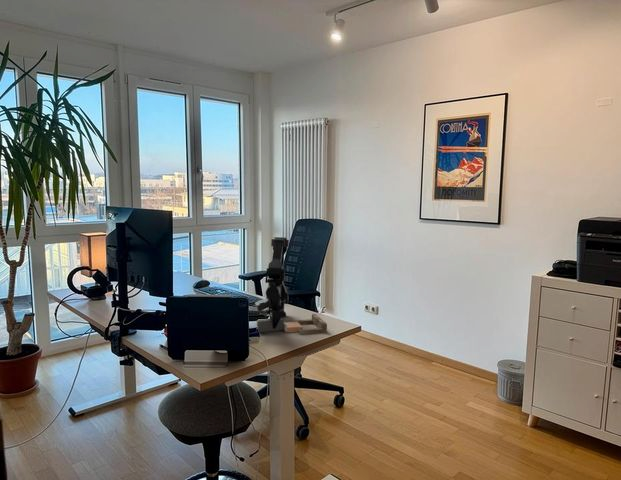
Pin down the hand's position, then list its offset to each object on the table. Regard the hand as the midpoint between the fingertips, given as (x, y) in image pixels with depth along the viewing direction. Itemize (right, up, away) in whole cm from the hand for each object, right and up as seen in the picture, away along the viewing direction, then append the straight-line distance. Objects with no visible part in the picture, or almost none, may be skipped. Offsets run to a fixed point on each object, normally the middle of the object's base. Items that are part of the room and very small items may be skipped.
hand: (273, 327), depth 195 cm
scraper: (-1, -1, 0) cm, 2 cm away
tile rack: (+15, -1, +5) cm, 16 cm away
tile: (+8, -2, +3) cm, 9 cm away
